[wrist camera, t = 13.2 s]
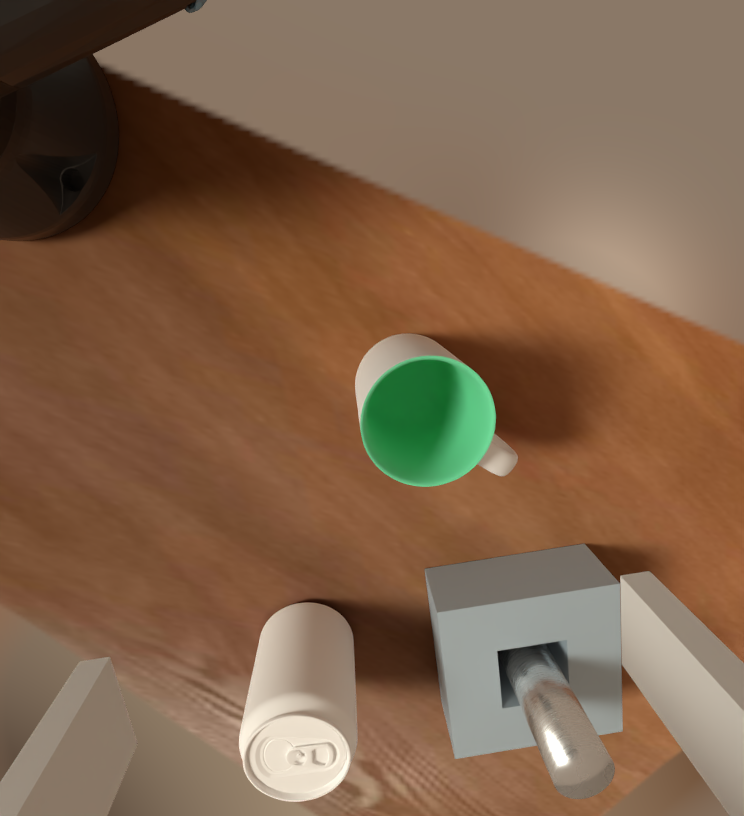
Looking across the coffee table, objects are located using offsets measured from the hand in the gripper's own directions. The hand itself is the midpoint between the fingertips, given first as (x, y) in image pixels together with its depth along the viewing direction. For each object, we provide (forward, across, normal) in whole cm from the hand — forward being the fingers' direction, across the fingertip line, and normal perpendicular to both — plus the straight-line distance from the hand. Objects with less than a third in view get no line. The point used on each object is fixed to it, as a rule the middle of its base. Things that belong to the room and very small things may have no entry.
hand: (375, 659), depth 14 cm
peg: (+28, +11, -23) cm, 38 cm away
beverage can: (+29, -7, -21) cm, 36 cm away
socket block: (+29, +11, -23) cm, 38 cm away
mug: (+29, +6, -1) cm, 30 cm away
